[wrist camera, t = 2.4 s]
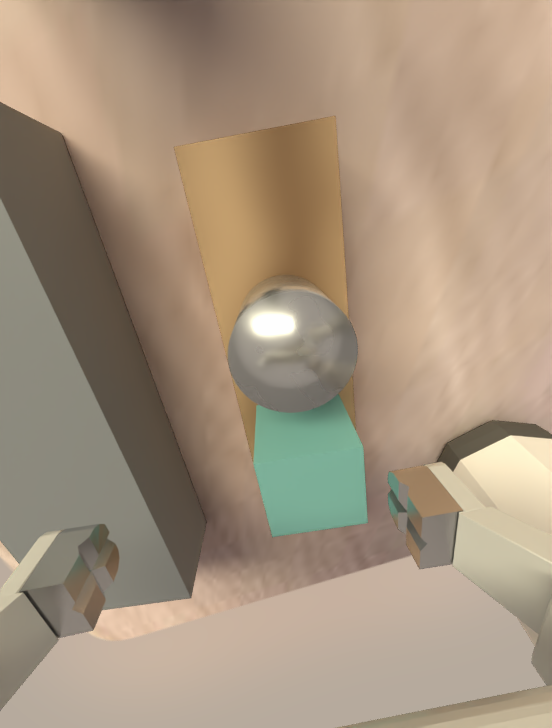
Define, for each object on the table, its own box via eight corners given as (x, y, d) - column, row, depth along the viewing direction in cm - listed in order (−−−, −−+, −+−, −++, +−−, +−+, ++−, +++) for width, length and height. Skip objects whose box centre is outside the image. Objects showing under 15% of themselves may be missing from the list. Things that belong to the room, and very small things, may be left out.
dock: (61, 133, 12) (-60, 71, 8) (206, 522, 22) (191, 598, 17) (-118, 167, 13) (-337, 128, 8) (103, 537, 22) (61, 615, 18)
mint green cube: (337, 392, 14) (363, 446, 10) (343, 456, 16) (367, 522, 12) (256, 405, 14) (253, 463, 11) (270, 467, 16) (272, 537, 12)
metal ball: (325, 265, 12) (352, 278, 8) (335, 355, 13) (362, 401, 10) (228, 285, 12) (212, 306, 8) (250, 371, 14) (244, 421, 10)
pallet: (317, 146, 13) (335, 115, 10) (346, 476, 21) (361, 522, 18) (196, 169, 13) (173, 147, 10) (270, 488, 21) (271, 535, 18)
